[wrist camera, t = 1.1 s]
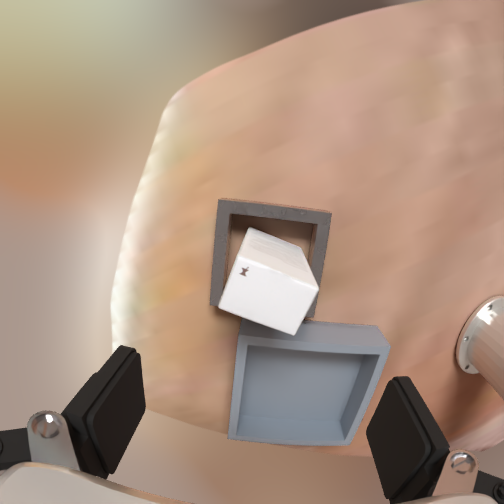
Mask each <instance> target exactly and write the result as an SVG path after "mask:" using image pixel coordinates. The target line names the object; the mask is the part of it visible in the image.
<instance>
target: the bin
mask: <svg viewBox="0 0 504 504" xmlns="http://www.w3.org/2000/svg"><path fill="white" fill-rule="evenodd" d="M390 348H391V346H390V345H389V343H388V341H387V340H386V338H385V337H384V335H383V334H382V332H381V331H380V329H379V328H378V326H371V325H356V324H342V323H330V322H318V321H307V320H303V321H302V323H301V325H300V327H299V329H298V330H297V332H296V334H295V335H294V336H293V335H290V334H288V333H285V332H282V331H279V330H276V329H273V328H271V327H268V326H265V325H262V324H259V323H256V322H254V321H251V320H248V319H245V318H243V317H242V320H241V325H240V330H239V335H238V344H237V353H236V363H235V372H234V382H233V391H232V401H231V411H230V420H229V430H228V439H233V440H240V441H249V442H259V443H270V444H284V445H310V446H337V445H350V443H351V441H352V439H353V437H354V435H355V433H356V431H357V429H358V427H359V425H360V423H361V420H362V418H363V416H364V414H365V412H366V409H367V407H368V405H369V402H370V400H371V398H372V395H373V393H374V391H375V388H376V386H377V383H378V381H379V378H380V376H381V373H382V370H383V368H384V365H385V362H386V359H387V357H388V354H389V351H390Z"/></svg>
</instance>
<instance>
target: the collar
mask: <svg viewBox="0 0 504 504" xmlns="http://www.w3.org/2000/svg"><path fill="white" fill-rule="evenodd" d="M232 214H241V215H250V216H258V217H267V218H275V219H283V220H291V221H299V222H306V223H314V225H313V232H312V238H311V245H310V251H309V258H308V264H309V267H310V269H311V271H312V274H313V276H314V278H315V280H316V282H317V285H318V287H320V282H321V276H322V271H323V265H324V259H325V254H326V248H327V241H328V235H329V229H330V222H331V215H332V213H330V212H328V211H325V210H318V209H311V208H304V207H296V206H288V205H281V204H273V203H264V202H256V201H247V200H238V199H228V198H221V199H218V208H217V219H216V230H215V242H214V254H213V266H212V280H211V294H210V305H213V306H218V305H219V302H220V299H221V296H222V294H223V291H224V288H225V286H226V277H227V266H228V255H229V245H230V234H231V224H232ZM318 292H319V291H318ZM317 298H318V293H317V295H316V297H315V299H314V301H313V303H312V305H311V306H310V308H309V310H308V312H307V314H306V316H305V317H314V313H315V308H316V303H317Z"/></svg>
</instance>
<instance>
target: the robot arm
mask: <svg viewBox="0 0 504 504" xmlns="http://www.w3.org/2000/svg"><path fill="white" fill-rule="evenodd" d="M456 359H457V363H458V365H459V366H460V367H461V369H462V370H463V371H464V372H466V373H469V374H476V373H480V374H481V375H482V376H483V377H484V378H485V379H486V380H487V382H488V383H489V384H490V385H491V386H492V387H493V388H494V390H495V391H496V392H497V393H498V394H499V395H500V397H501V398H502V399H503V400H504V296H494V297H492V298H490V299H488V300H486V301H485V302H484V303H482V304H481V305H480V306H479V307H478V308H477V309H476V310H475V311H474V312H473V314H472V315H471V316H470V318H469V319H468V321H467V322H466V324H465V326H464V328H463V329H462V332H461V334H460V336H459V339H458V343H457V348H456ZM145 408H146V403H145V396H144V387H143V378H142V367H141V357H140V354H139V353H137V352H136V349H135V348H131V347H127V346H123V345H120V346H119V347H118V348H117V350H116V351H115V352H114V353H113V354H112V356H111V357H110V358H109V359H108V360H107V362H106V363H105V364H104V365H103V367H102V368H101V369H100V370H99V371H98V372H97V373H94V374H93V375H92V376H91V377H90V378H89V380H88V381H87V382H86V383H85V385H84V386H83V387H82V388H81V389H80V391H79V392H78V393H77V394H76V396H75V397H74V398H73V399H72V400H71V402H70V403H69V404H68V405H67V407H66V408H65V409H64V411H63V412H62V413H61V414H58V413H56V412H53V411H41V412H37V413H36V414H34V415H33V416H32V417H31V418H30V419H29V421H28V424H27V428H21V429H13V430H6V431H0V504H193V503H188V502H183V501H178V500H174V499H169V498H165V497H161V496H157V495H154V494H150V493H146V492H142V491H139V490H136V489H132V488H129V487H126V486H123V485H120V484H117V483H114V482H111V481H108V480H105V479H107V477H108V475H109V473H110V474H113V473H114V472H115V470H116V469H117V466H118V464H119V462H120V460H121V458H122V456H123V454H124V452H125V450H126V448H127V446H128V444H129V442H130V440H131V438H132V436H133V434H134V432H135V430H136V428H137V426H138V424H139V422H140V420H141V418H142V416H143V414H144V412H145ZM366 435H367V439H368V442H369V445H370V448H371V452H372V455H373V458H374V461H375V464H376V468H377V471H378V474H379V478H380V481H381V485H382V488H383V491H384V495H385V497H386V499H389V501H390V504H504V480H503V479H500V478H498V477H495V476H492V475H489V474H487V473H484V472H482V471H479V470H478V469H479V463H478V460H477V458H476V457H475V456H474V454H472V453H471V452H469V451H467V450H463V449H457V450H454V451H452V452H451V453H450V451H449V447H450V446H449V444H448V442H447V440H446V438H445V437H444V435H443V433H442V431H441V430H440V428H439V426H438V424H437V423H436V421H435V419H434V417H433V416H432V414H431V412H430V411H429V409H428V407H427V406H426V404H425V402H424V401H423V399H422V397H421V396H420V394H419V392H418V391H417V389H416V387H415V386H414V384H413V383H412V381H411V379H410V378H409V377H408V376H400V377H394V378H393V379H392V380H390V381H389V382H388V384H387V386H386V388H385V391H384V393H383V395H382V397H381V400H380V402H379V404H378V406H377V408H376V411H375V413H374V415H373V417H372V419H371V421H370V423H369V425H368V427H367V430H366ZM96 476H98V477H96ZM99 477H100V478H99ZM102 478H103V479H102Z"/></svg>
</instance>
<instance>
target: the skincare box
mask: <svg viewBox="0 0 504 504" xmlns="http://www.w3.org/2000/svg"><path fill="white" fill-rule="evenodd" d="M318 291H319V287H318V285H317V282H316V280H315V278H314V276H313V274H312V271H311V269H310V267H309V264H308V262H307V260H306V258H305V256H304V253H303V251H302V249H301V247H298V246H296V245H294V244H291V243H289V242H286V241H284V240H281V239H279V238H277V237H274V236H272V235H269V234H267V233H264V232H262V231H259V230H257V229H254V228H252V227H249V228H248V230H247V233H246V235H245V237H244V240H243V242H242V244H241V247H240V249H239V252H238V254H237V257H236V259H235V262H234V265H233V267H232V270H231V272H230V275H229V278H228V280H227V283H226V286H225V288H224V291H223V294H222V296H221V299H220V302H219V305H218V307H219V309H222V310H225V311H227V312H230V313H232V314H235V315H237V316H240V317H243V318H245V319H248V320H251V321H254V322H256V323H259V324H262V325H265V326H268V327H271V328H273V329H276V330H279V331H282V332H285V333H288V334H290V335H293V336H294V335H295V334H296V332H297V330H298V329H299V327H300V325H301V323H302V321H303V319H304V318H305V316H306V314H307V312H308V310H309V308H310V306H311V305H312V303H313V301H314V299H315V297H316V295H317V293H318Z"/></svg>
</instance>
